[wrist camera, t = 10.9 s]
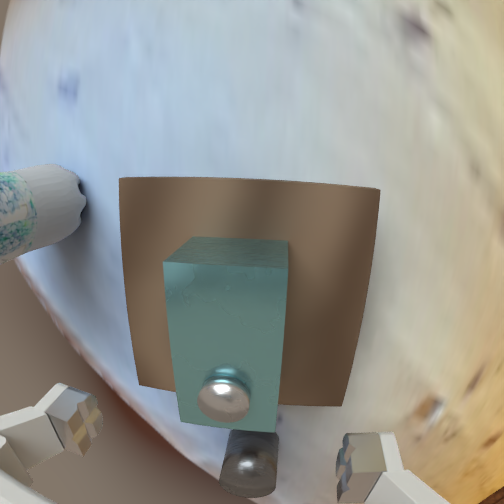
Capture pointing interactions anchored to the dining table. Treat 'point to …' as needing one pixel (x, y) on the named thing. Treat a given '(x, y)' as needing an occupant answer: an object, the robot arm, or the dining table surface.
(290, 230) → the stand
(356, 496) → the robot arm
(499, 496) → the cutting board
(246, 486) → the tin
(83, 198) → the bottle
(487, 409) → the dining table surface
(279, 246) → the block
